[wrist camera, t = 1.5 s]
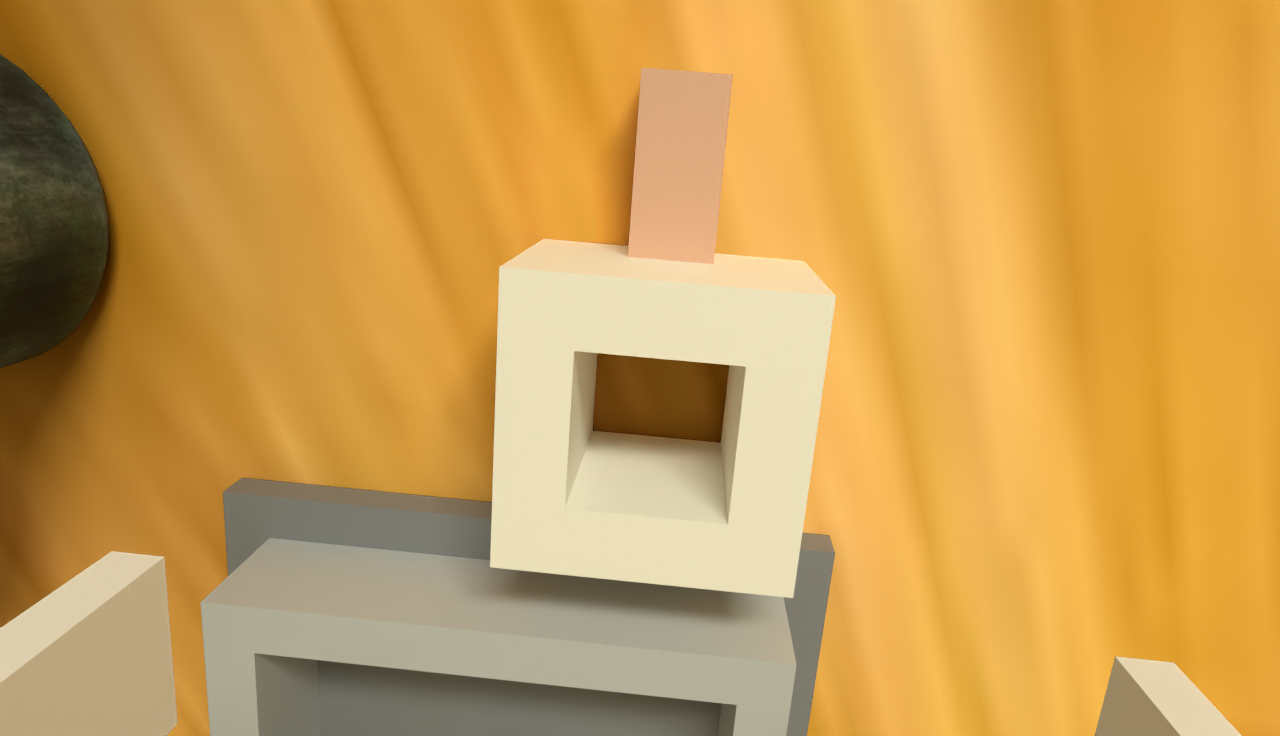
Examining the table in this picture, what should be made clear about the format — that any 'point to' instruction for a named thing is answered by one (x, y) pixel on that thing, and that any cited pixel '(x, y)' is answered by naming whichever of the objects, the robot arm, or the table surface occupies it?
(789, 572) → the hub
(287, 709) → the grey walled tray
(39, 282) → the mug
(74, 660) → the robot arm
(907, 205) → the table surface
